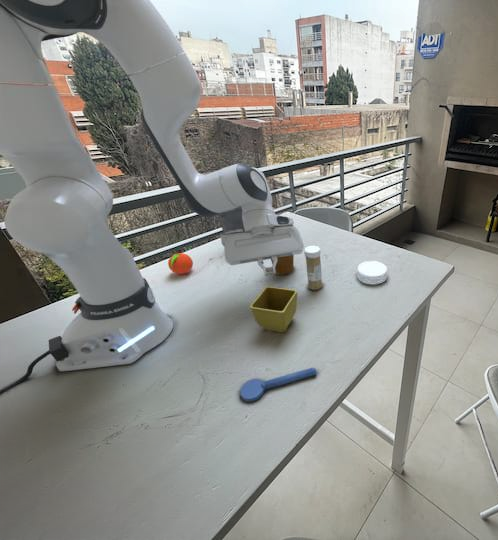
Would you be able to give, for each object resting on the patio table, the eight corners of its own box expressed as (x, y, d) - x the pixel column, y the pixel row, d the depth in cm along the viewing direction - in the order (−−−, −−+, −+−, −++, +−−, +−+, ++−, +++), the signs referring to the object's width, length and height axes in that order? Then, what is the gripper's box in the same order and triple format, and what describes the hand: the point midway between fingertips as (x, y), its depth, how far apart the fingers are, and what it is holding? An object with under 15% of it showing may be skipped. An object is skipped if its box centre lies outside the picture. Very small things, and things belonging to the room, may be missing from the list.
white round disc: (380, 266, 100) (380, 258, 98) (391, 282, 92) (392, 273, 90) (353, 271, 97) (353, 262, 95) (362, 287, 89) (362, 278, 87)
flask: (262, 239, 117) (254, 196, 107) (232, 253, 107) (220, 207, 97) (256, 236, 119) (247, 194, 109) (226, 250, 108) (214, 205, 99)
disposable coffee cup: (302, 272, 96) (299, 240, 90) (275, 280, 92) (269, 248, 85) (291, 260, 103) (287, 229, 97) (265, 267, 98) (259, 236, 92)
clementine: (187, 280, 91) (179, 261, 88) (165, 279, 92) (157, 260, 88) (199, 267, 98) (193, 249, 94) (179, 266, 98) (172, 248, 94)
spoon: (241, 404, 56) (239, 400, 55) (241, 385, 59) (239, 380, 59) (318, 381, 61) (318, 376, 60) (314, 364, 64) (313, 360, 63)
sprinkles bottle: (305, 285, 90) (301, 248, 82) (317, 280, 92) (314, 243, 85) (313, 292, 87) (310, 254, 80) (325, 286, 90) (323, 249, 82)
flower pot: (287, 339, 70) (283, 312, 66) (255, 334, 72) (248, 307, 67) (301, 316, 78) (297, 290, 73) (271, 311, 79) (266, 285, 74)
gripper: (217, 227, 72) (226, 279, 69) (298, 216, 78) (308, 264, 75) (222, 236, 78) (230, 284, 75) (297, 225, 84) (307, 270, 81)
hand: (270, 274), depth 75 cm, fingers closed
